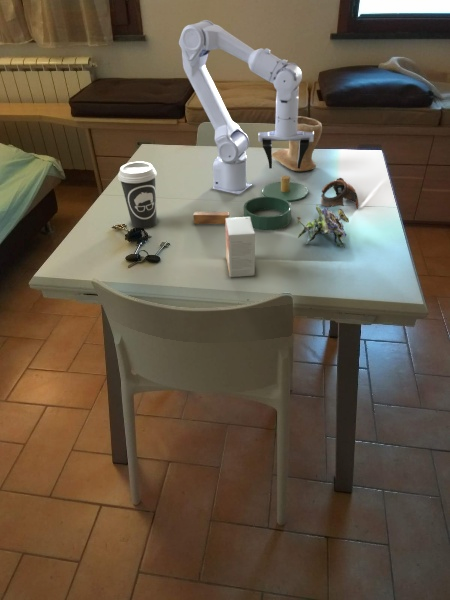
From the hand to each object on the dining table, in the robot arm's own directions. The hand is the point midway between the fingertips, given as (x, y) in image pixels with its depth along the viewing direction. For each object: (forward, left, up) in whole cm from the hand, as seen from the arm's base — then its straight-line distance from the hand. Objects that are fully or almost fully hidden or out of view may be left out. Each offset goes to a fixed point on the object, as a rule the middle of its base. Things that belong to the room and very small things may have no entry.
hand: (284, 167), depth 132 cm
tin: (+3, -16, -8) cm, 19 cm away
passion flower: (+20, -21, -8) cm, 31 cm away
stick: (-9, -24, -8) cm, 27 cm away
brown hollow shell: (+16, +1, -8) cm, 19 cm away
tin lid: (0, +1, -8) cm, 8 cm away
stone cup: (-6, +23, -8) cm, 25 cm away
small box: (+8, -39, -8) cm, 41 cm away
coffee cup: (-25, -32, -8) cm, 42 cm away
